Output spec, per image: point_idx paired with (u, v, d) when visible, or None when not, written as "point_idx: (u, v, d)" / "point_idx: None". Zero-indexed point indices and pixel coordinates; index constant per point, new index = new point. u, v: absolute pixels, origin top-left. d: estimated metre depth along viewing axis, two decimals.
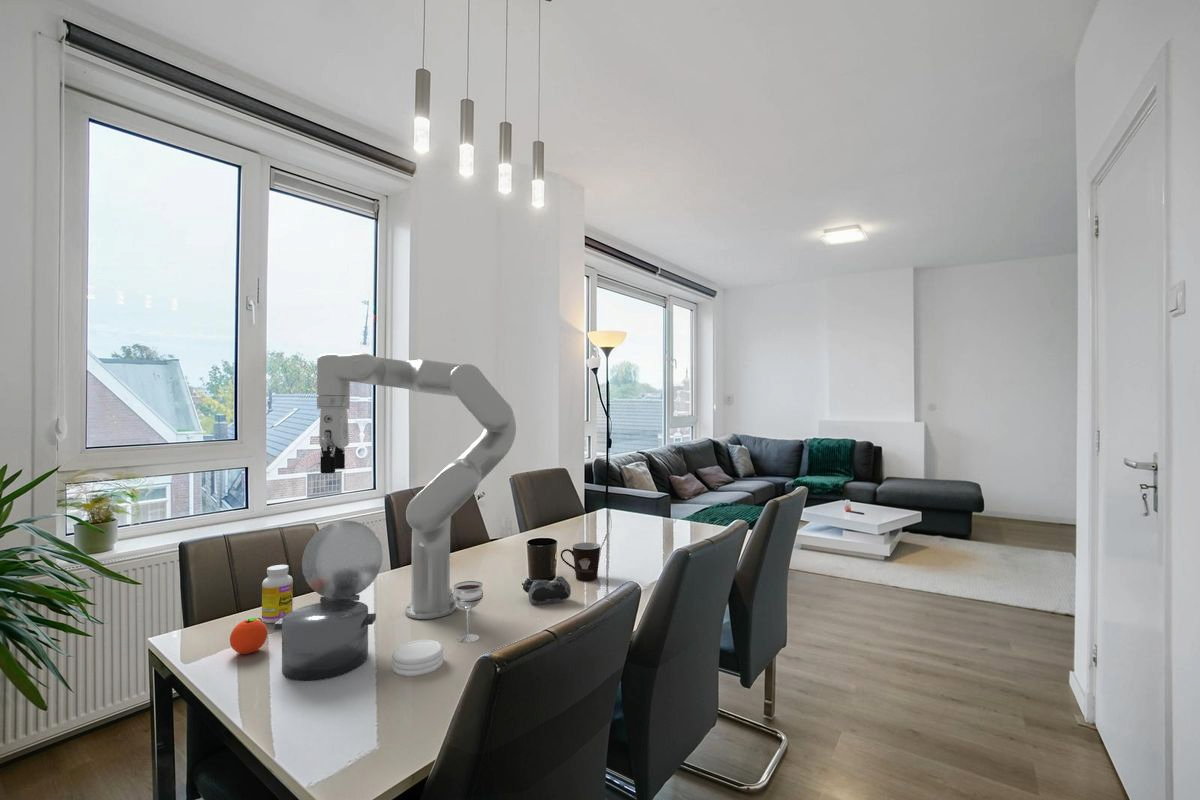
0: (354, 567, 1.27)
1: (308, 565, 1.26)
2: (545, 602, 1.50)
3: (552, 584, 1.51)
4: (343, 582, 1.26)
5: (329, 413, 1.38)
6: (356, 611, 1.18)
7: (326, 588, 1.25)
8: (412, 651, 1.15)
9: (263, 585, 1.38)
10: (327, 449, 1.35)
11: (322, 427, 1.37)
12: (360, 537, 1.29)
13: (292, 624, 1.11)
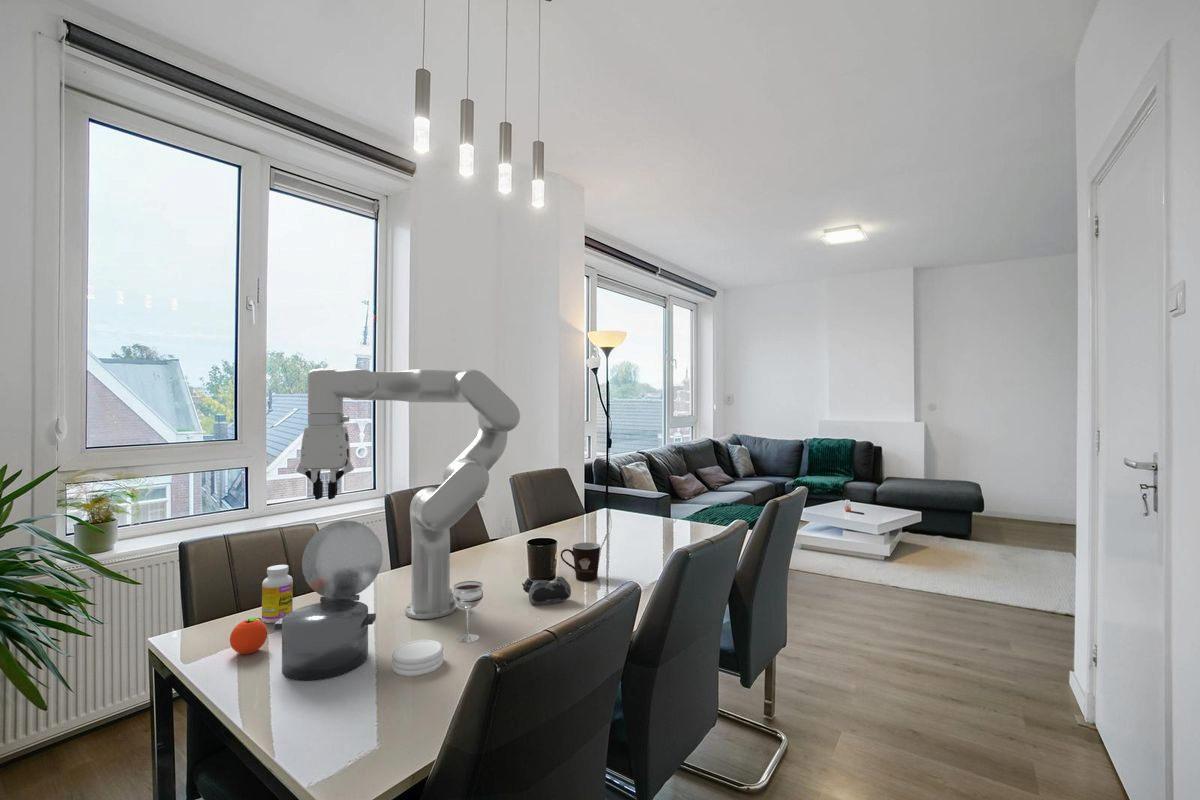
0: (354, 567, 1.27)
1: (308, 565, 1.26)
2: (546, 602, 1.50)
3: (552, 584, 1.50)
4: (343, 582, 1.26)
5: (346, 431, 1.35)
6: (356, 611, 1.18)
7: (326, 588, 1.25)
8: (412, 651, 1.15)
9: (263, 585, 1.38)
10: None
11: (345, 446, 1.33)
12: (360, 537, 1.29)
13: (292, 624, 1.11)
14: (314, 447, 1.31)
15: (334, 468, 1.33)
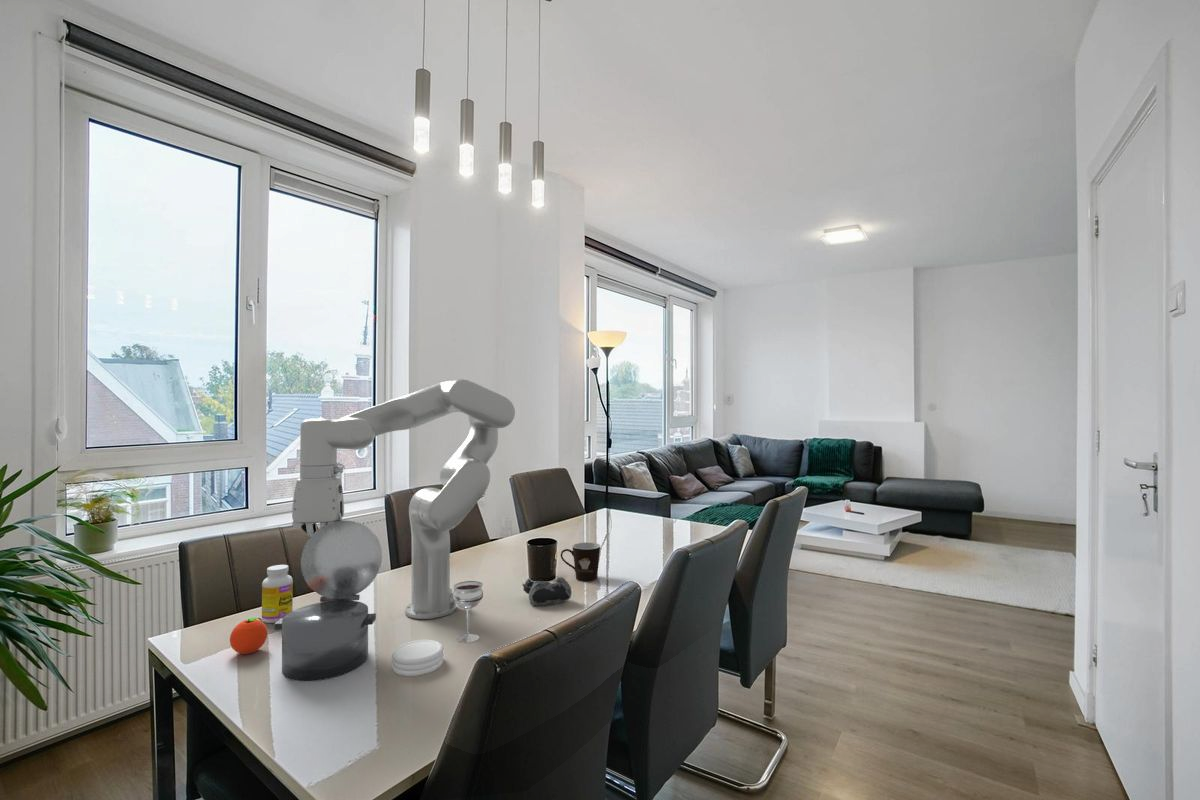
0: (353, 567, 1.27)
1: (307, 565, 1.25)
2: (546, 603, 1.49)
3: (553, 585, 1.50)
4: (343, 582, 1.26)
5: (339, 483, 1.30)
6: (356, 611, 1.18)
7: (326, 588, 1.25)
8: (412, 651, 1.15)
9: (263, 585, 1.38)
10: None
11: (338, 499, 1.29)
12: (359, 537, 1.28)
13: (292, 624, 1.11)
14: (306, 500, 1.27)
15: (327, 522, 1.28)
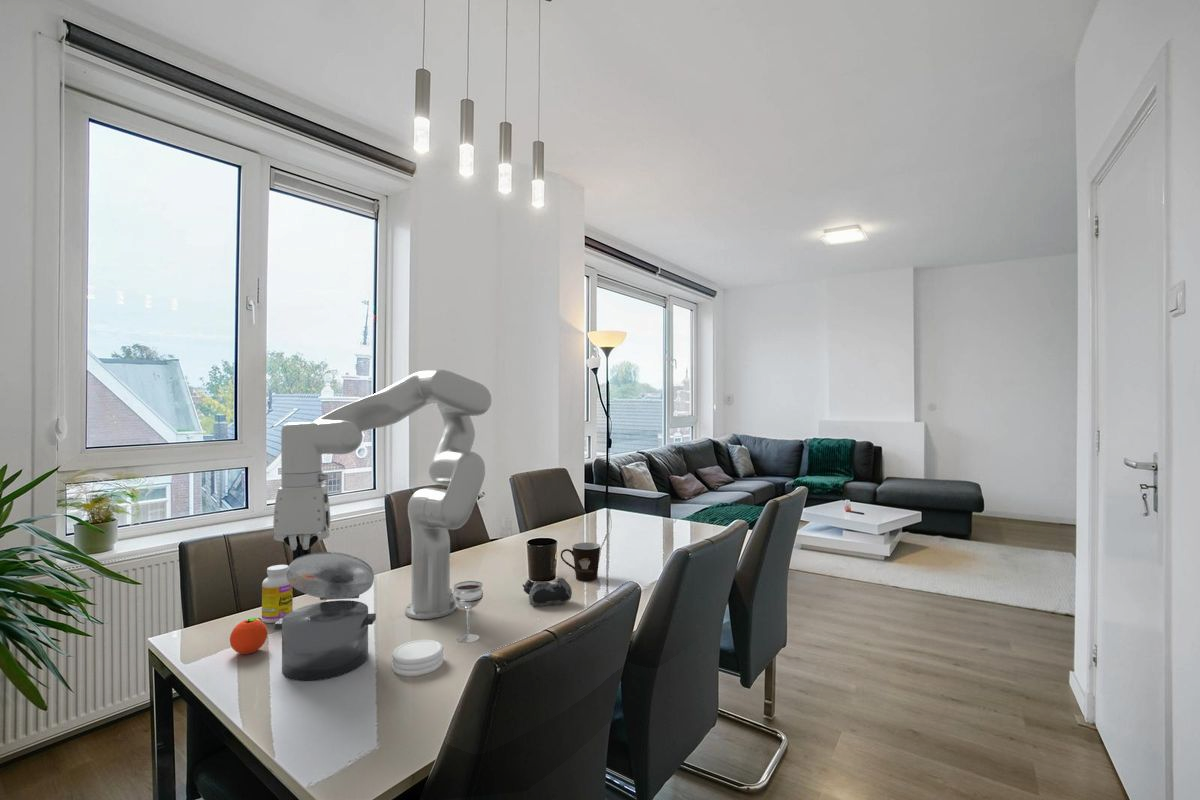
0: (346, 583, 1.21)
1: (296, 583, 1.19)
2: (546, 604, 1.49)
3: (553, 586, 1.49)
4: (339, 590, 1.23)
5: (325, 491, 1.20)
6: (356, 611, 1.18)
7: (323, 594, 1.23)
8: (412, 651, 1.15)
9: (263, 585, 1.38)
10: None
11: (324, 509, 1.19)
12: (344, 566, 1.17)
13: (292, 624, 1.11)
14: (288, 511, 1.17)
15: (311, 534, 1.18)
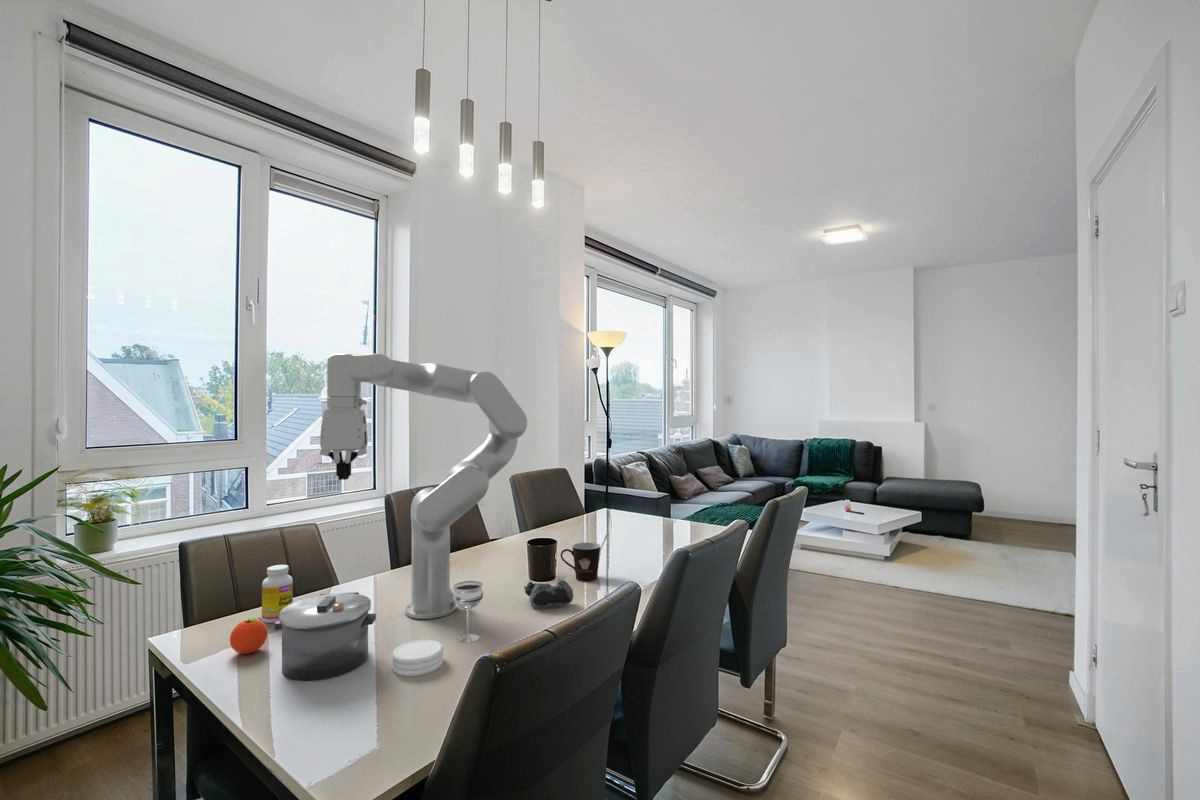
0: None
1: None
2: (547, 606, 1.47)
3: (554, 588, 1.47)
4: None
5: (364, 414, 1.39)
6: None
7: None
8: (412, 651, 1.15)
9: (263, 585, 1.38)
10: None
11: (363, 429, 1.38)
12: None
13: None
14: (333, 429, 1.36)
15: (352, 450, 1.37)
